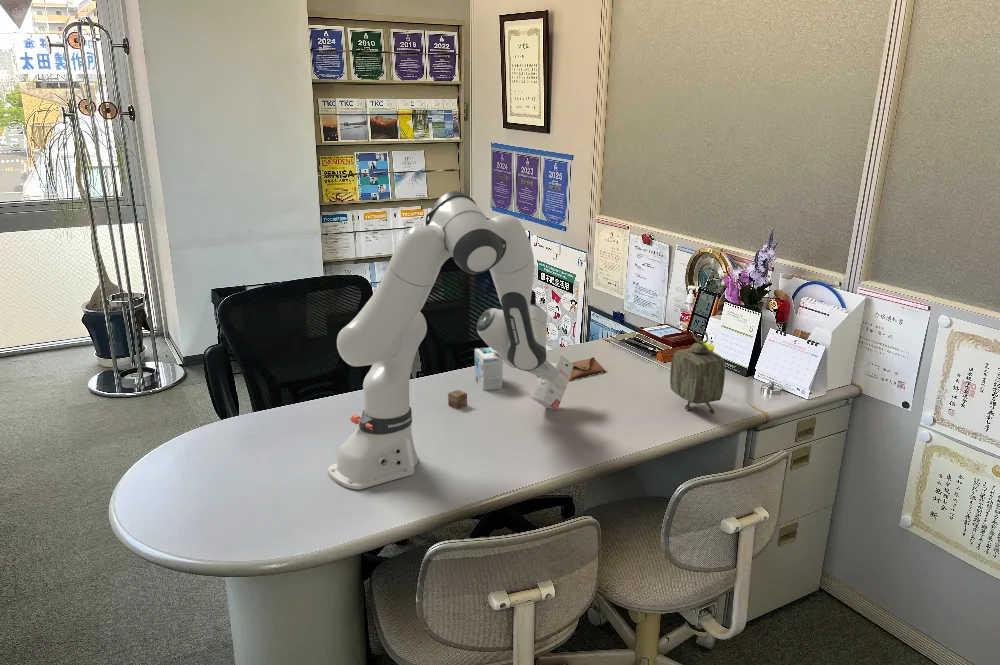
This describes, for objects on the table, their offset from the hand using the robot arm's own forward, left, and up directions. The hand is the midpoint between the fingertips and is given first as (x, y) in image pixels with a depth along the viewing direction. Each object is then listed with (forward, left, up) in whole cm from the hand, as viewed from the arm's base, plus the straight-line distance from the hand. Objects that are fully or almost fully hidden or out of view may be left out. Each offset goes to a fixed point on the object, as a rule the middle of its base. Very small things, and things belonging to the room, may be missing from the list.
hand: (543, 376), depth 209 cm
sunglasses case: (+34, +14, -12) cm, 38 cm away
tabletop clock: (+34, -29, -11) cm, 46 cm away
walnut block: (-15, +21, -11) cm, 28 cm away
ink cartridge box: (0, 0, -9) cm, 9 cm away
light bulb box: (+4, +28, -11) cm, 31 cm away
